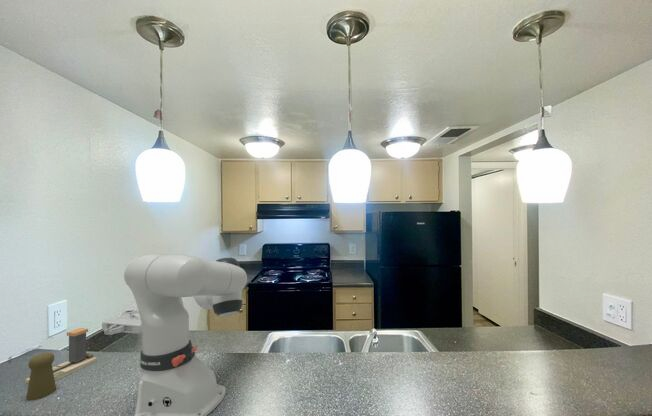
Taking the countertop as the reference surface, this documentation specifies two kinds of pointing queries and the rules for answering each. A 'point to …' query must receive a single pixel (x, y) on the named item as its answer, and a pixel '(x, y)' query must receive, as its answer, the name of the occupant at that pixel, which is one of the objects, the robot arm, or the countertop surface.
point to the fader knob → (77, 344)
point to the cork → (41, 377)
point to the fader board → (70, 367)
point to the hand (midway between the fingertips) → (107, 332)
